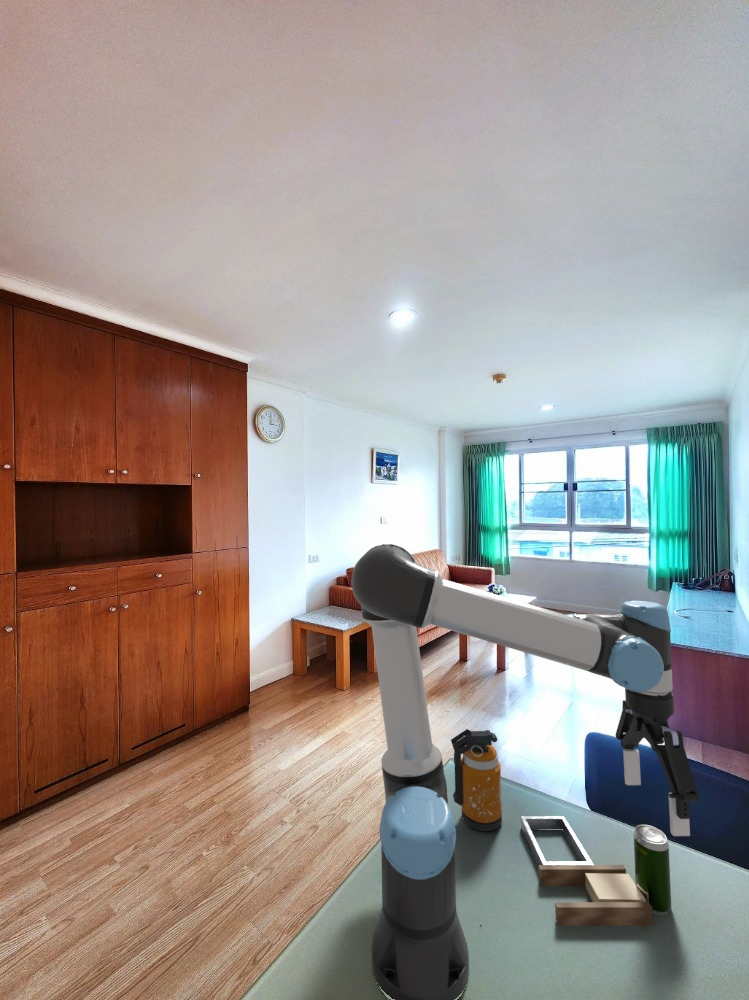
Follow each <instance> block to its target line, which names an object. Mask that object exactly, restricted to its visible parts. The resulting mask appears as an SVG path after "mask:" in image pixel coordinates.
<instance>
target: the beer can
mask: <svg viewBox="0 0 749 1000" xmlns="http://www.w3.org/2000/svg"><path fill="white" fill-rule="evenodd" d="M633 855H634V875H635V881H634V883H635V884H636V886H637V887H638V889H639V890H640V892H641V893H642V895H643V896H644V898H645V899H646V902H649V903H650V905H651V906H652V913H653V914H654V915H659V916H664V915H668V914H669V912H670V911H671V909H672V893H671V890H672V889H671V888H672V887H671V870H670V869H671V866H670V863H671V862H670V846H669V842H668V837H667V836H666V834H665V833H664V832H663V831H662V830H661V829H658V828H657V827H655V826H652V825H650V824H649V825H648V824H638V825H636V826H635V827H634V832H633Z"/></svg>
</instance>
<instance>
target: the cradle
mask: <svg viewBox="0 0 749 1000" xmlns="http://www.w3.org/2000/svg"><path fill="white" fill-rule="evenodd" d="M520 828H521V830H522V833H523V836H524V837H525V839H526V843H527V844H528V846H529V848H530V850H531V853H532V855H533V858H534V859H535V862H536V864H537V866H538V865H594V863H593V861H592V860H591V858H590V856H589V855H588V853H587V851H586V850H585V848H584V847H583V845H582V843H581V842H580V840H579V839H578V837H577V835H576V833H575V832H574V830H573V829H572V826H571V825H570V823H569V822H568V821H567V819H566V818H565V816H564V815H562V816H561V815H554V816H553V815H552V816H551V815H550V816H549V815H545V816H540V815H539V816H537V815H536V816H535V815H533V816H532V815H531V816H527V815H526V816H525V815H524V816H523V815H522V816H520ZM538 829H539V830H538ZM540 829H563V831H564V832H563V831H562V832H563V834H564V833H565V834H564V835H566V836H565V838H566V837H567V838H566V839H567V841H568V843H569V844H571V845H570V846H571V848H572V850H573V849H574V850H573V852H574V851H575V852H574V853H575V855H576V856H577V858H578V860H579V861H546V859H545V857H544V856H545V855H543V853H542V850H541V849H540V846H539V843H538V842H537V840H536V838H535V835H534V834H533V831H541V830H540Z"/></svg>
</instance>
